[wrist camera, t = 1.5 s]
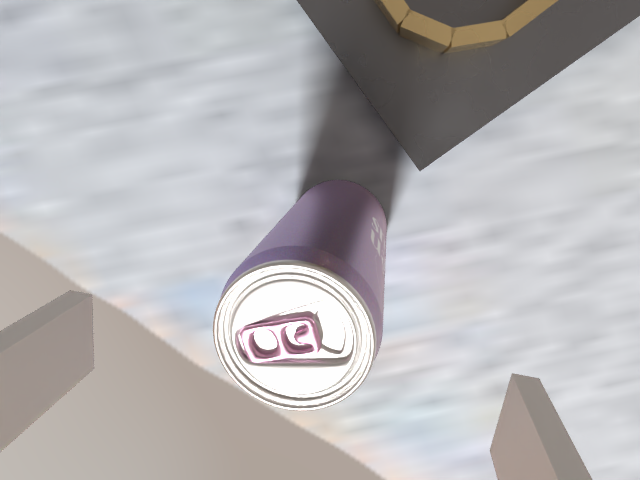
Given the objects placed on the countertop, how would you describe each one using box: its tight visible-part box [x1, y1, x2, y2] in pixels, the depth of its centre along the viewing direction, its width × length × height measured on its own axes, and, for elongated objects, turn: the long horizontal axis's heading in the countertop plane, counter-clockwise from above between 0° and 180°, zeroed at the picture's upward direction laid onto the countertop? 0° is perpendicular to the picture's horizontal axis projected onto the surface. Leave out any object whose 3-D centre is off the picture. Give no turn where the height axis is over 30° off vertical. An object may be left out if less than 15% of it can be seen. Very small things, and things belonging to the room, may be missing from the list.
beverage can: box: [213, 180, 387, 411], centre depth 23 cm, size 6×6×15 cm
